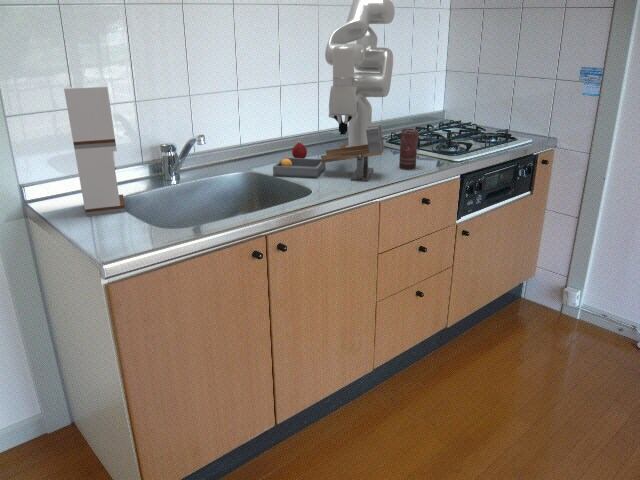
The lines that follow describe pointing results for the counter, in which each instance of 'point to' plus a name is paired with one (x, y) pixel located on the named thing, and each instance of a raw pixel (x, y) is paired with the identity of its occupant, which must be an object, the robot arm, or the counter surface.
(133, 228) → the counter surface
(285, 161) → the ball
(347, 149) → the chute
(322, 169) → the tray
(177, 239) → the counter surface
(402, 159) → the can
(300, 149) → the onion
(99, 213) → the grey pillar
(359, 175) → the chute stand
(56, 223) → the counter surface
